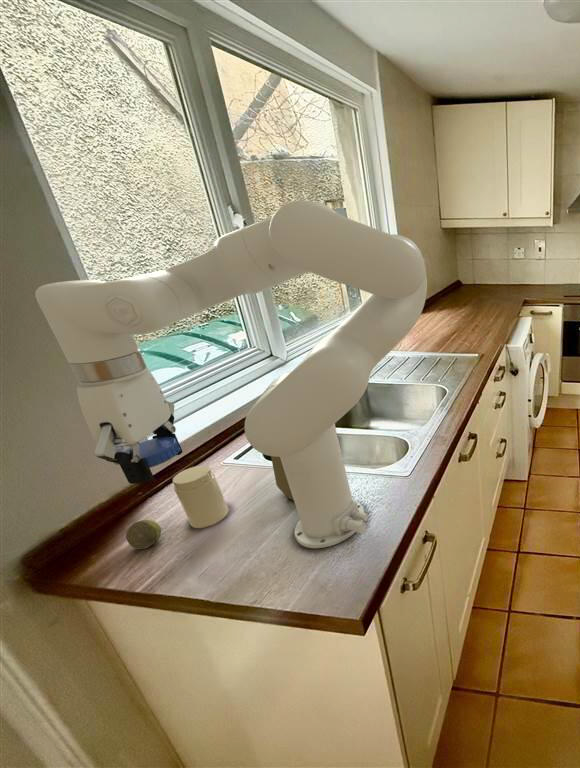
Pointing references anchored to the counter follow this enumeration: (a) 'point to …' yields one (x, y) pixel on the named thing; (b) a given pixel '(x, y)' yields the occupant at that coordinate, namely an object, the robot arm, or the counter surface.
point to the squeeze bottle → (281, 477)
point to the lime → (143, 534)
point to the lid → (158, 450)
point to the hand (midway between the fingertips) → (157, 466)
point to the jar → (200, 496)
